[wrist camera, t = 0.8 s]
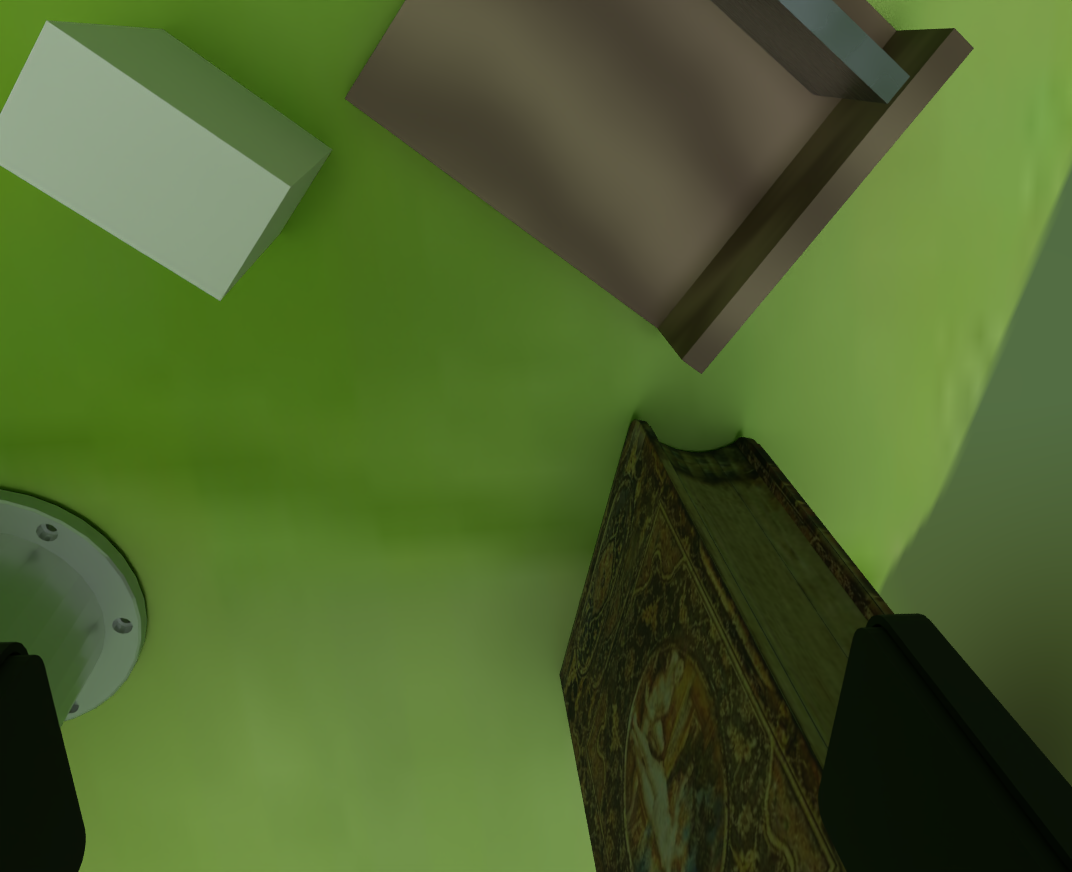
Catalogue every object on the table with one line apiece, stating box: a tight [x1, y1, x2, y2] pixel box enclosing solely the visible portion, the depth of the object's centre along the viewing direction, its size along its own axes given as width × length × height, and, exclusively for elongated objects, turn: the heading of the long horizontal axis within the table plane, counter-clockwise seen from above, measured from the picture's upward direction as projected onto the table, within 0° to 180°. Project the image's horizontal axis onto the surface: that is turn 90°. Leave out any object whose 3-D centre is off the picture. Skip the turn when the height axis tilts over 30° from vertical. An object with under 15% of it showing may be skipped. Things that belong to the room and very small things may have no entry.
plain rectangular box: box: [0, 21, 332, 301], centre depth 28 cm, size 4×7×10 cm, turn 53°
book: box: [560, 419, 894, 872], centre depth 31 cm, size 16×6×25 cm, turn 168°
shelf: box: [345, 0, 974, 374], centre depth 30 cm, size 14×16×8 cm
